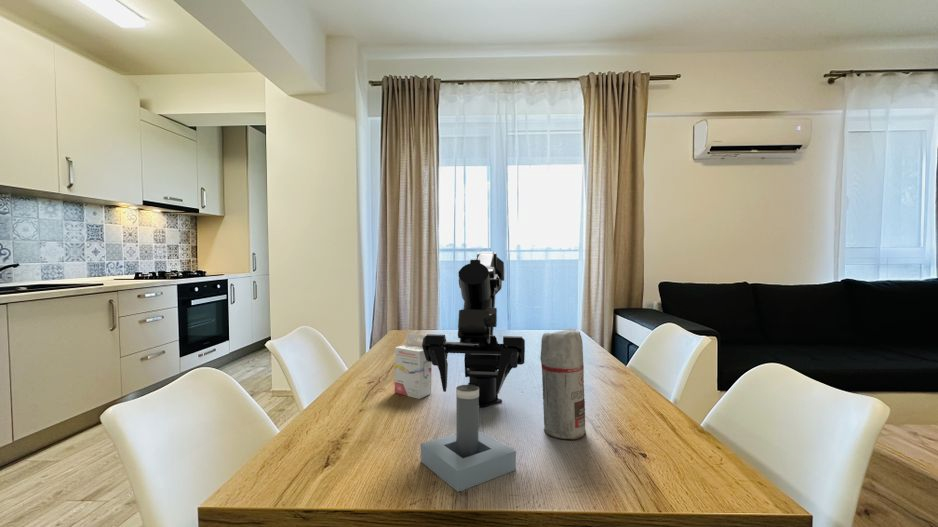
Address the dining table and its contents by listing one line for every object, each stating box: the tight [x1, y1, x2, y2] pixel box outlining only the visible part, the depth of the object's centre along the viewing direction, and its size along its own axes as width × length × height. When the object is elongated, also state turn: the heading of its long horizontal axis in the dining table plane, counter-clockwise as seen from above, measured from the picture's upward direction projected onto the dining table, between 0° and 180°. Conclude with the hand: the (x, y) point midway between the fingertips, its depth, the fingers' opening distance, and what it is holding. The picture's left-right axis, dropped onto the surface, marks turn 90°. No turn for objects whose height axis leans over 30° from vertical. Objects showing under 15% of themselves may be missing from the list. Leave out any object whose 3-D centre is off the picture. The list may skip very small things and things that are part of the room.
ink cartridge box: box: [394, 332, 433, 400], centre depth 102 cm, size 9×5×15 cm, turn 58°
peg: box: [455, 384, 480, 458], centre depth 65 cm, size 4×4×12 cm
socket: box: [420, 430, 517, 493], centre depth 65 cm, size 11×11×3 cm
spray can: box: [539, 328, 587, 440], centre depth 79 cm, size 8×8×20 cm
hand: (470, 391), depth 69 cm, fingers open, 9 cm apart
